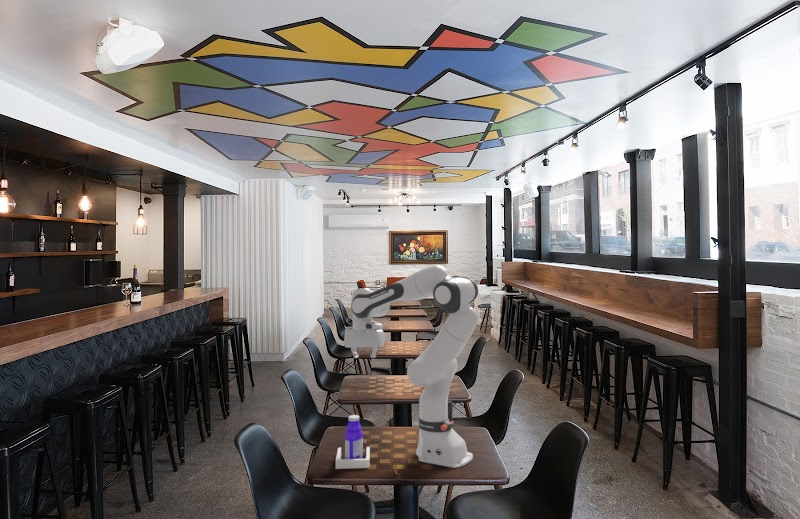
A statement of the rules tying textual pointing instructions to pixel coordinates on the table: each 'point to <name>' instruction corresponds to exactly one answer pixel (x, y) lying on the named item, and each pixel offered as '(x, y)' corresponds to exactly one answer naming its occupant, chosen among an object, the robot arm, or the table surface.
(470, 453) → the robot arm
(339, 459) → the bottle holder
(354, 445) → the bottle
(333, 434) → the table surface
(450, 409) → the camera lens
